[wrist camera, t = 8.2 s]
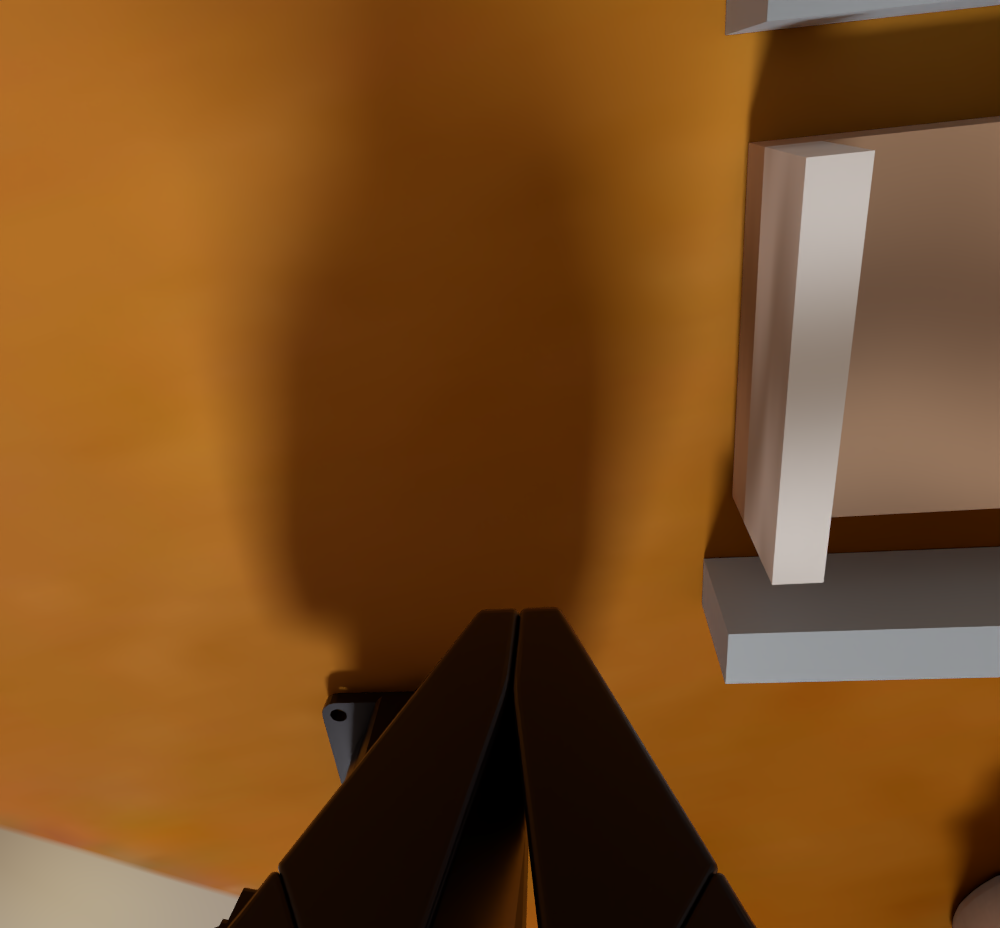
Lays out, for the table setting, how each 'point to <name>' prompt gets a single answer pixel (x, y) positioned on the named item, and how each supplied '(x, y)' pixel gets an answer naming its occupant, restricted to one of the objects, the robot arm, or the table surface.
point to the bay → (864, 575)
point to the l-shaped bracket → (867, 333)
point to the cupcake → (980, 907)
